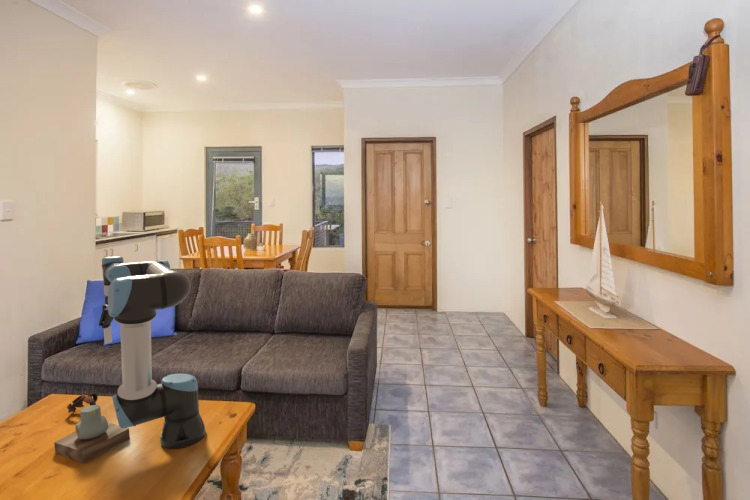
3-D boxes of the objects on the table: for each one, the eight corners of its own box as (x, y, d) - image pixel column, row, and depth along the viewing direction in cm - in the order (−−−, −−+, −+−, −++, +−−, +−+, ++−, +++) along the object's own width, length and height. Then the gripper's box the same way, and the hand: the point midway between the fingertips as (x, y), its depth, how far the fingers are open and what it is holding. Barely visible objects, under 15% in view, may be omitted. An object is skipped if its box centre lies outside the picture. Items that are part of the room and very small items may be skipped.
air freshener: (74, 434, 148) (72, 407, 147) (101, 425, 154) (99, 399, 153) (82, 445, 140) (80, 418, 139) (110, 435, 146) (108, 409, 145)
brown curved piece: (90, 418, 168) (76, 404, 166) (73, 426, 170) (59, 412, 167) (108, 398, 179) (95, 384, 177) (92, 406, 181) (79, 392, 179)
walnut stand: (129, 438, 152) (128, 428, 151) (85, 463, 137) (83, 452, 137) (101, 430, 158) (100, 420, 157) (55, 453, 143) (54, 442, 143)
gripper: (145, 294, 167) (148, 345, 169) (104, 290, 176) (108, 338, 178) (127, 298, 160) (131, 351, 162) (86, 293, 169) (90, 343, 171)
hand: (119, 344), depth 170 cm, fingers open, 13 cm apart
